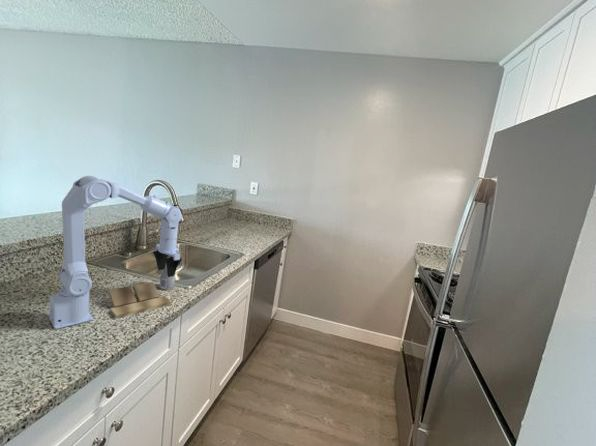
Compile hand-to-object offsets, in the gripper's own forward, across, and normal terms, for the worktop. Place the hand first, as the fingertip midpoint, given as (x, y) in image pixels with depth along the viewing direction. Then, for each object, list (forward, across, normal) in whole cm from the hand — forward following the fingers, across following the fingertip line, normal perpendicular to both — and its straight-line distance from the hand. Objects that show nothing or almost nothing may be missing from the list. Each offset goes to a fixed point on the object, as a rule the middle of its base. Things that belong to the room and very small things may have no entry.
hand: (165, 272), depth 111 cm
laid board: (+10, -4, +10) cm, 14 cm away
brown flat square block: (+8, +3, +14) cm, 16 cm away
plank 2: (+8, +3, +6) cm, 10 cm away
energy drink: (+10, +8, -5) cm, 14 cm away
